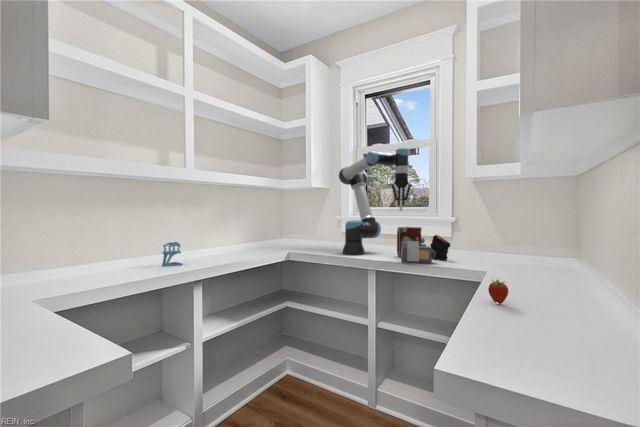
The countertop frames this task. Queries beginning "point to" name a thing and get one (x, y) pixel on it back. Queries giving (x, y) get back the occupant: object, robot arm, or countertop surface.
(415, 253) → the side door
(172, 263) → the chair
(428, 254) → the block
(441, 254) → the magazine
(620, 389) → the countertop surface
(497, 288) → the fruit
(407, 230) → the brown box
